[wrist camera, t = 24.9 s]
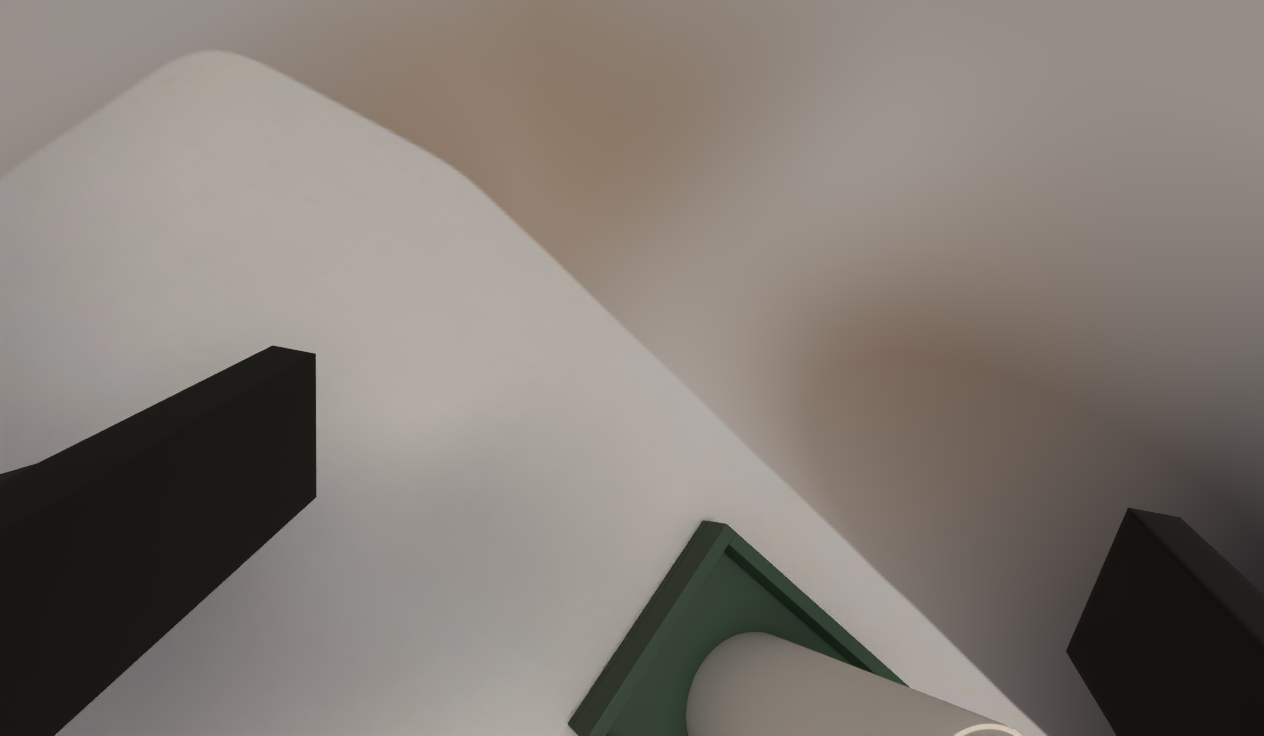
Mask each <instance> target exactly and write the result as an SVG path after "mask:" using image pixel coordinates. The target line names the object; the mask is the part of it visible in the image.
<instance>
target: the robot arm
mask: <svg viewBox="0 0 1264 736" xmlns="http://www.w3.org/2000/svg"><path fill="white" fill-rule="evenodd" d="M315 498H316V354H314V353H309V352H304V351H298V350H293V349H288V348H283V347H277V346H271V347H269V348H267V349H265V350H263V351H261V352H259V353H257V354H255V355H253V356H251V357H249V358H247V359H245V360H243V361H241V362H239V363H237V364H235V365H233V366H231V367H229V368H227V369H225V370H223V371H221V372H219V373H217V374H215V375H213V376H211V377H209V378H207V379H205V380H203V381H201V382H199V383H197V384H195V385H193V386H191V387H189V388H187V389H185V390H183V391H181V392H179V393H177V394H175V395H173V396H171V397H169V398H167V399H165V400H163V401H161V402H159V403H157V404H155V405H153V406H151V407H149V408H147V409H145V410H143V411H141V412H139V413H137V414H135V415H133V416H131V417H129V418H127V419H125V420H123V421H121V422H119V423H117V424H115V425H113V426H111V427H109V428H107V429H105V430H103V431H101V432H99V433H97V434H95V435H93V436H91V437H89V438H87V439H85V440H83V441H81V442H79V443H77V444H75V445H73V446H71V447H69V448H67V449H65V450H63V451H61V452H59V453H57V454H55V455H53V456H51V457H49V458H47V459H45V460H43V461H41V462H39V463H37V464H34V465H30V466H27V467H23V468H20V469H17V470H13V471H10V472H6V473H3V474H0V736H54V735H55V734H56V733H58V732H59V731H60V730H61V729H62V728H63V727H64V726H65V725H66V724H67V723H69V722H70V721H71V720H72V719H73V718H74V717H75V716H76V715H77V714H78V713H80V712H81V711H82V710H83V709H84V708H85V707H86V706H87V705H88V704H89V703H90V702H92V701H93V700H94V699H95V698H96V697H97V696H98V695H99V694H100V693H101V692H103V691H104V690H105V689H106V688H107V687H108V686H109V685H110V684H111V683H112V682H114V681H115V680H116V679H117V678H118V677H119V676H120V675H121V674H122V673H123V672H125V671H126V670H127V669H128V668H129V667H130V666H131V665H132V664H133V663H134V662H136V661H137V660H138V659H139V658H140V657H141V656H142V655H143V654H144V653H145V652H147V651H148V650H149V649H150V648H151V647H152V646H153V645H154V644H155V643H156V642H158V641H159V640H160V639H161V638H162V637H163V636H164V635H165V634H166V633H167V632H169V631H170V630H171V629H172V628H173V627H174V626H175V625H176V624H177V623H178V622H179V621H181V620H182V619H183V618H184V617H185V616H186V615H187V614H188V613H189V612H190V611H192V610H193V609H194V608H195V607H196V606H197V605H198V604H199V603H200V602H201V601H203V600H204V599H205V598H206V597H207V596H208V595H209V594H210V593H211V592H212V591H214V590H215V589H216V588H217V587H218V586H219V585H220V584H221V583H222V582H223V581H225V580H226V579H227V578H228V577H229V576H230V575H231V574H232V573H233V572H234V571H236V570H237V569H238V568H239V567H240V566H241V565H242V564H243V563H244V562H245V561H247V560H248V559H249V558H250V557H251V556H252V555H253V554H254V553H255V552H256V551H258V550H259V549H260V548H261V547H262V546H263V545H264V544H265V543H266V542H267V541H268V540H270V539H271V538H272V537H273V536H274V535H275V534H276V533H277V532H278V531H279V530H281V529H282V528H283V527H284V526H285V525H286V524H287V523H288V522H289V521H290V520H292V519H293V518H294V517H295V516H296V515H297V514H298V513H299V512H300V511H301V510H303V509H304V508H305V507H306V506H307V505H308V504H309V503H310V502H311V501H312V500H314V499H315ZM1066 652H1067V654H1068V655H1069V657H1070V659H1071V661H1072V662H1073V664H1074V666H1075V667H1076V669H1077V671H1078V672H1079V674H1080V676H1081V677H1082V679H1083V681H1084V682H1085V684H1086V685H1087V687H1088V689H1089V690H1090V692H1091V694H1092V696H1093V697H1094V699H1095V700H1096V702H1097V704H1098V705H1099V707H1100V709H1101V710H1102V712H1103V714H1104V715H1105V717H1106V719H1107V720H1108V722H1109V724H1110V725H1111V727H1112V729H1113V730H1114V732H1115V733H1116V735H1117V736H1264V595H1263V594H1262V593H1261V592H1260V591H1259V590H1258V589H1257V588H1256V587H1255V586H1254V585H1253V584H1252V583H1251V582H1249V581H1248V580H1247V579H1246V578H1245V577H1244V576H1243V575H1242V574H1241V573H1240V572H1239V571H1238V570H1236V569H1235V568H1234V567H1233V566H1232V565H1231V564H1230V563H1229V562H1228V561H1227V560H1226V559H1225V558H1223V557H1222V556H1221V555H1220V554H1219V553H1218V552H1217V551H1216V550H1215V549H1214V548H1213V547H1212V546H1211V545H1209V544H1208V543H1207V542H1206V541H1205V540H1204V539H1203V538H1202V537H1201V536H1200V535H1199V534H1198V533H1196V532H1195V531H1194V530H1193V529H1192V528H1191V527H1190V526H1189V525H1188V524H1187V523H1186V522H1185V521H1183V520H1182V519H1181V518H1180V517H1175V516H1169V515H1164V514H1159V513H1154V512H1148V511H1143V510H1138V509H1133V508H1128V509H1127V512H1126V514H1125V516H1124V518H1123V521H1122V523H1121V525H1120V527H1119V530H1118V532H1117V534H1116V537H1115V539H1114V542H1113V544H1112V546H1111V548H1110V551H1109V553H1108V556H1107V558H1106V560H1105V562H1104V565H1103V567H1102V569H1101V571H1100V574H1099V576H1098V578H1097V581H1096V584H1095V585H1094V588H1093V590H1092V592H1091V595H1090V597H1089V599H1088V602H1087V604H1086V606H1085V608H1084V611H1083V613H1082V615H1081V618H1080V620H1079V622H1078V625H1077V627H1076V629H1075V632H1074V634H1073V636H1072V638H1071V641H1070V643H1069V646H1068V648H1067V650H1066Z"/></svg>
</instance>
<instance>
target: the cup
mask: <svg viewBox="0 0 1264 736" xmlns="http://www.w3.org/2000/svg"><path fill="white" fill-rule="evenodd" d="M686 726H687V733H688V736H1023V735H1022V734H1020V733H1019V732H1017V731H1015V730H1014V729H1012V728H1010V727H1008V726H1006V725H1004V724H1002V723H999V722H997V721H994V720H992V719H989V718H987V717H984V716H981V715H979V714H976V713H974V712H971V711H969V710H966V709H963V708H961V707H958V706H956V705H953V704H950V703H948V702H945V701H943V700H940V699H938V698H935V697H932V696H930V695H927V694H925V693H922V692H919V691H917V690H914V689H912V688H909V687H906V686H904V685H901V684H899V683H896V682H893V681H891V680H888V679H886V678H883V677H880V676H878V675H875V674H873V673H870V672H867V671H865V670H862V669H860V668H857V667H854V666H852V665H849V664H847V663H844V662H841V661H839V660H836V659H834V658H831V657H829V656H826V655H823V654H821V653H818V652H816V651H813V650H810V649H808V648H805V647H803V646H800V645H797V644H795V643H792V642H790V641H787V640H784V639H782V638H779V637H777V636H774V635H771V634H768V633H764V632H745V633H741V634H737V635H735V636H732V637H730V638H728V639H727V640H725V641H723V642H722V643H720V644H719V645H718V646H717V647H716V648H714V649H713V650H712V651H711V652H710V653H709V655H708V656H707V657H706V658H705V659H704V661H703V662H702V664H701V665H700V667H699V669H698V671H697V672H696V675H695V677H694V679H693V681H692V684H691V687H690V691H689V694H688V700H687V707H686Z"/></svg>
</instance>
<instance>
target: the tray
mask: <svg viewBox="0 0 1264 736" xmlns="http://www.w3.org/2000/svg"><path fill="white" fill-rule="evenodd" d="M745 632H764V633H768V634H771V635H774V636H777V637H779V638H782V639H784V640H787V641H790V642H792V643H795V644H797V645H800V646H803V647H805V648H808V649H810V650H813V651H816V652H818V653H821V654H823V655H826V656H829V657H831V658H834V659H836V660H839V661H841V662H844V663H847V664H849V665H852V666H854V667H857V668H860V669H862V670H865V671H867V672H870V673H873V674H875V675H878V676H880V677H883V678H886V679H888V680H891V681H893V682H896V683H899V684H901V685H904V686H906V687H909V686H908V685H907V684H905V683H904V682H903V681H902V680H901V679H900V678H899V677H898V676H896V675H895V674H894V673H893V672H892V671H891V670H890V669H889V668H887V667H886V666H885V665H884V664H883V663H882V662H881V661H880V660H879V659H877V658H876V657H875V656H874V655H873V654H872V653H871V652H870V651H868V650H867V649H866V648H865V647H864V646H863V645H862V644H861V643H859V642H858V641H857V640H856V639H855V638H854V637H853V636H852V635H850V634H849V633H848V632H847V631H846V630H845V629H844V628H843V627H842V626H840V625H839V624H838V623H837V622H836V621H835V620H834V619H833V618H831V617H830V616H829V615H828V614H827V613H826V612H825V611H824V610H822V609H821V608H820V607H819V606H818V605H817V604H816V603H815V602H813V601H812V600H811V599H810V598H809V597H808V596H807V595H806V594H805V593H803V592H802V591H801V590H800V589H799V588H798V587H797V586H796V585H794V584H793V583H792V582H791V581H790V580H789V579H788V578H787V577H785V576H784V575H783V574H782V573H781V572H780V571H779V570H778V569H777V568H775V567H774V566H773V565H772V564H771V563H770V562H769V561H768V560H766V559H765V558H764V557H763V556H762V555H761V554H760V553H759V552H757V551H756V550H755V549H754V548H753V547H752V546H751V545H750V544H748V543H747V542H746V541H745V540H744V539H743V538H742V537H741V536H740V535H738V534H737V533H736V532H735V531H734V530H733V529H732V528H731V527H729V526H728V525H727V524H723V523H717V522H711V521H703V522H702V524H701V525H700V527H699V528H698V530H697V531H696V533H695V534H694V536H693V537H692V539H691V540H690V542H689V543H688V545H687V546H686V548H685V549H684V551H683V552H682V554H681V555H680V557H679V558H678V560H677V561H676V563H675V564H674V566H673V567H672V569H671V570H670V572H669V573H668V575H667V576H666V578H665V579H664V581H663V582H662V584H661V585H660V587H659V588H658V590H657V591H656V593H655V594H654V596H653V597H652V599H651V600H650V602H649V603H648V605H647V606H646V608H645V609H644V611H643V612H642V614H641V615H640V617H639V618H638V620H637V621H636V623H635V624H634V626H633V627H632V629H631V630H630V632H629V633H628V635H627V636H626V638H625V639H624V641H623V642H622V644H621V645H620V647H619V648H618V650H617V651H616V653H615V654H614V656H613V657H612V659H611V660H610V662H609V663H608V665H607V666H606V668H605V670H604V671H603V673H602V674H601V676H600V677H599V679H598V680H597V682H596V683H595V685H594V686H593V688H592V689H591V691H590V692H589V694H588V695H587V697H586V698H585V700H584V701H583V703H582V704H581V706H580V707H579V709H578V710H577V712H576V713H575V715H574V716H573V718H572V719H571V721H570V722H569V724H568V725H569V726H570V727H571V728H572V729H573V730H574V731H575V732H576V733H577V734H578V735H579V736H688V733H687V726H686V707H687V700H688V694H689V691H690V687H691V684H692V681H693V679H694V677H695V675H696V672H697V671H698V669H699V667H700V665H701V664H702V662H703V661H704V659H705V658H706V657H707V656H708V655H709V653H710V652H711V651H712V650H713V649H714V648H716V647H717V646H718V645H719V644H720V643H722V642H723V641H725V640H727V639H728V638H730V637H732V636H735V635H737V634H741V633H745ZM909 688H910V687H909Z"/></svg>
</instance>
